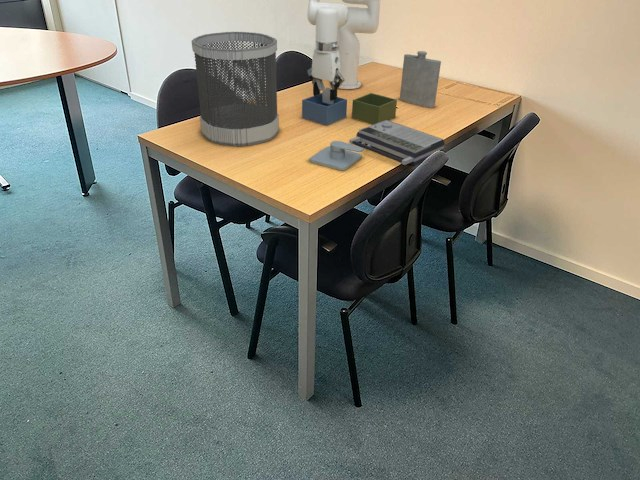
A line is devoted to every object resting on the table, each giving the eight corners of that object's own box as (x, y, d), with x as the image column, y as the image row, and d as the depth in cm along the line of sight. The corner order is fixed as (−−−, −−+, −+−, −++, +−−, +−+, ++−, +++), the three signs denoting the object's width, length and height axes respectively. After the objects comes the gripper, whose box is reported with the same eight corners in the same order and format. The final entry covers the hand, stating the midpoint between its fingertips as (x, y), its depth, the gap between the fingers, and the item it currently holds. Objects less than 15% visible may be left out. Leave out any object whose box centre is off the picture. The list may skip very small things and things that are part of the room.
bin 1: (301, 118, 193) (302, 99, 190) (321, 110, 201) (322, 92, 197) (326, 125, 187) (327, 107, 184) (346, 117, 195) (347, 99, 191)
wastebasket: (220, 151, 166) (212, 53, 150) (192, 126, 184) (181, 36, 168) (290, 136, 177) (289, 44, 161) (257, 114, 195) (253, 29, 179)
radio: (446, 136, 167) (407, 153, 155) (443, 152, 170) (405, 169, 158) (386, 116, 181) (347, 130, 169) (385, 131, 184) (346, 146, 172)
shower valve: (352, 156, 152) (308, 144, 158) (351, 173, 155) (308, 161, 161) (371, 142, 161) (329, 132, 167) (370, 158, 164) (328, 148, 170)
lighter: (333, 103, 190) (334, 81, 185) (330, 104, 189) (331, 82, 184) (318, 99, 193) (318, 77, 189) (315, 100, 192) (315, 78, 188)
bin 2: (351, 118, 195) (352, 100, 191) (369, 110, 202) (370, 92, 199) (377, 125, 189) (379, 107, 185) (395, 117, 196) (397, 99, 193)
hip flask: (436, 106, 208) (443, 54, 197) (430, 108, 205) (437, 56, 195) (402, 97, 217) (407, 47, 206) (396, 99, 214) (402, 48, 203)
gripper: (353, 48, 178) (350, 100, 188) (313, 40, 188) (313, 89, 197) (339, 52, 174) (337, 105, 183) (300, 43, 183) (299, 94, 192)
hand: (324, 96), depth 190 cm, fingers closed on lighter, 7 cm apart
